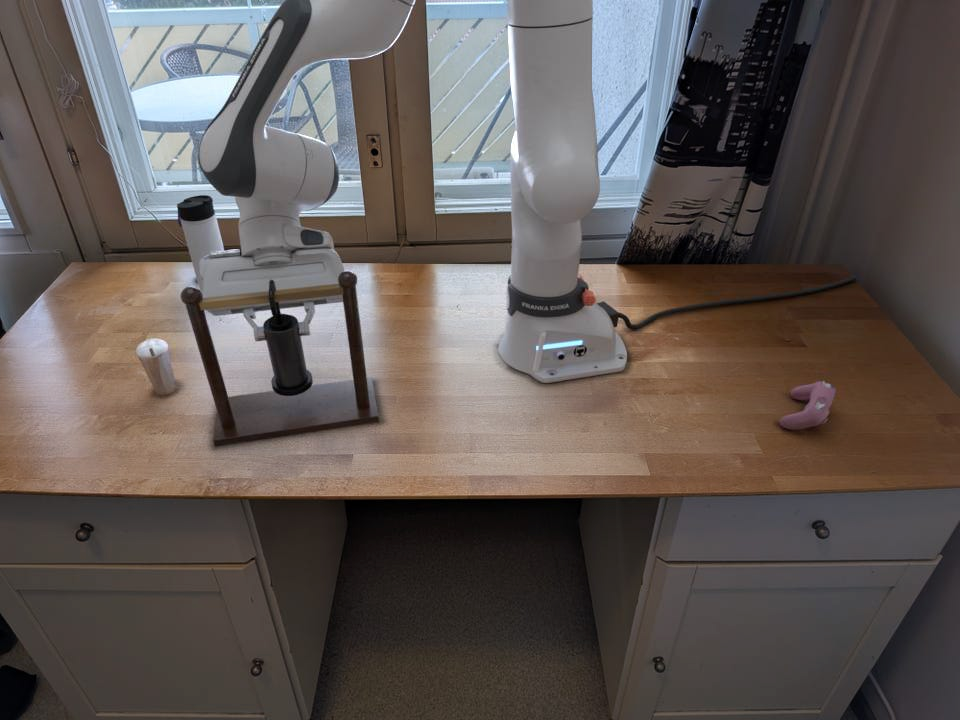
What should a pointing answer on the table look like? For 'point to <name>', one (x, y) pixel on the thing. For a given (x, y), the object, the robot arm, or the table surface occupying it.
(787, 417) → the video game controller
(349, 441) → the table surface
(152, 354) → the milkshake
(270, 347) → the dark cylindrical piece
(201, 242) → the travel mug
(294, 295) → the rack
